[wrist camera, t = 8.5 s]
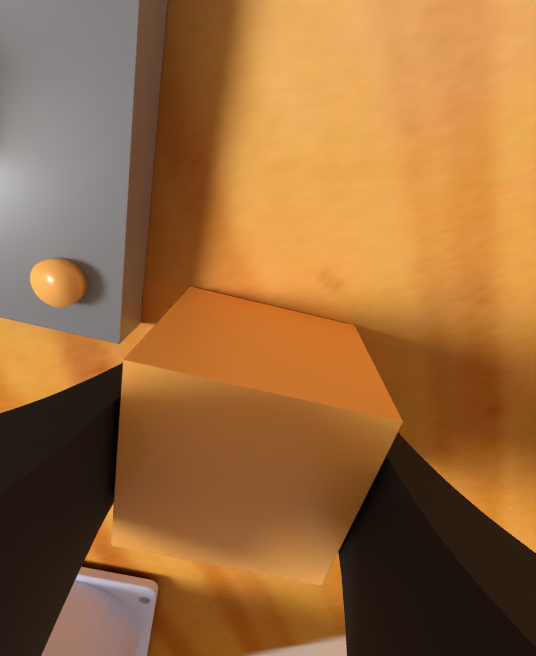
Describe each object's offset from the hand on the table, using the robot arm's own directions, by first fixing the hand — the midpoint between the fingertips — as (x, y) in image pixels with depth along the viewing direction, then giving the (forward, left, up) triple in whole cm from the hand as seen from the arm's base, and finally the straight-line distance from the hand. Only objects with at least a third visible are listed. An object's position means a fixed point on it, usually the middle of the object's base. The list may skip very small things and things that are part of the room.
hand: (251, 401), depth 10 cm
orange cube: (0, 0, -1) cm, 1 cm away
